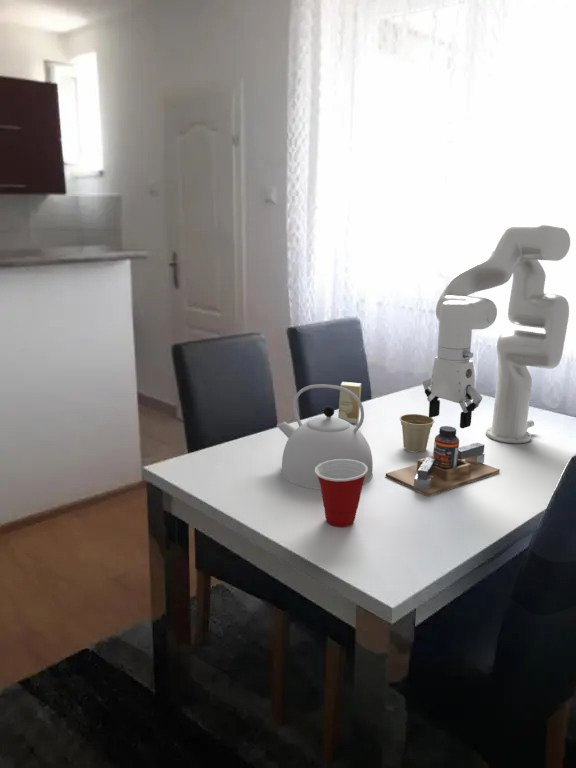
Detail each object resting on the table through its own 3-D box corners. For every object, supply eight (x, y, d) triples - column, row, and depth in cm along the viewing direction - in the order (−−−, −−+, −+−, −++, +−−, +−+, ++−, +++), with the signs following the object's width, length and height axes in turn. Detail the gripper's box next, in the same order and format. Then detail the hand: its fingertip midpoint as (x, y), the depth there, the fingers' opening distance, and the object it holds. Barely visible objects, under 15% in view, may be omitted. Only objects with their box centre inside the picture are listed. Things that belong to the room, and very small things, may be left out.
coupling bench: (455, 455, 168) (456, 444, 167) (499, 472, 157) (500, 460, 156) (385, 476, 153) (386, 463, 153) (428, 496, 142) (429, 483, 142)
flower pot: (432, 456, 168) (435, 425, 166) (397, 453, 170) (399, 422, 167) (431, 444, 177) (434, 415, 175) (398, 441, 178) (400, 412, 176)
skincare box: (337, 422, 195) (339, 384, 192) (339, 418, 199) (341, 381, 196) (358, 424, 194) (360, 386, 191) (359, 420, 198) (361, 382, 195)
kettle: (258, 480, 150) (259, 389, 144) (291, 450, 171) (293, 369, 165) (359, 497, 141) (364, 401, 136) (381, 463, 162) (386, 379, 157)
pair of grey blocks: (473, 458, 164) (475, 441, 163) (499, 467, 158) (500, 450, 157) (398, 481, 149) (400, 463, 148) (423, 492, 142) (425, 473, 141)
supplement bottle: (429, 473, 153) (433, 429, 151) (434, 465, 159) (437, 423, 156) (454, 477, 151) (458, 433, 148) (458, 469, 156) (461, 426, 154)
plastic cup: (310, 510, 134) (311, 457, 132) (359, 509, 135) (362, 457, 132) (316, 534, 124) (318, 477, 121) (370, 532, 125) (373, 476, 122)
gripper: (494, 357, 143) (488, 428, 148) (436, 345, 157) (432, 409, 161) (473, 362, 139) (467, 434, 144) (415, 349, 152) (412, 415, 157)
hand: (449, 421), depth 152 cm, fingers open, 9 cm apart
